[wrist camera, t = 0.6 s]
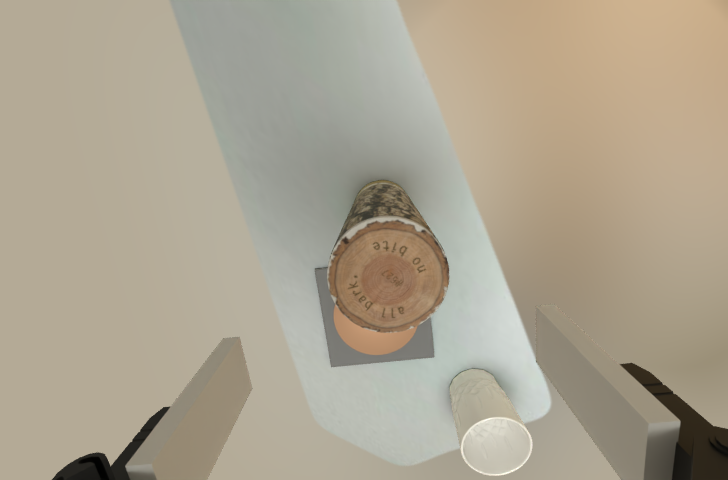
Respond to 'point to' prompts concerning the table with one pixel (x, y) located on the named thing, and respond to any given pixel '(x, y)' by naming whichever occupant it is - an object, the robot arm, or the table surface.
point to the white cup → (488, 424)
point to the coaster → (368, 336)
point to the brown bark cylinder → (387, 262)
